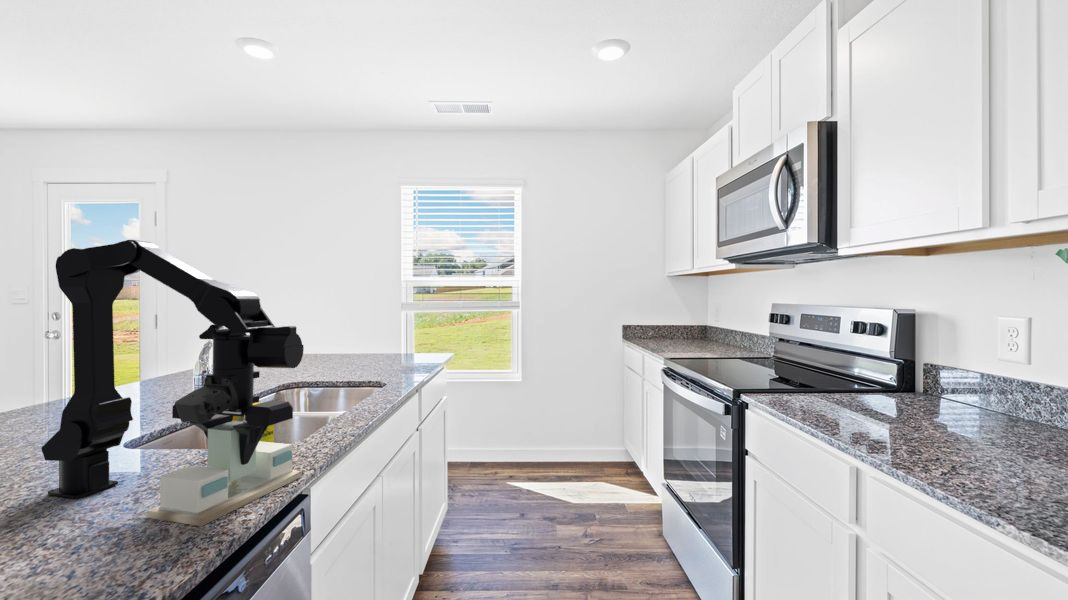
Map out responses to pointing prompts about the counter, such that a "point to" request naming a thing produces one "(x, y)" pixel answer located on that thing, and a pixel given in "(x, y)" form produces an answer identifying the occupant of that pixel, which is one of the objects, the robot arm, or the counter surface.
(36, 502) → the counter surface
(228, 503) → the mounting panel
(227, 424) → the loose module
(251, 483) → the grey flat piece
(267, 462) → the mounted modules
